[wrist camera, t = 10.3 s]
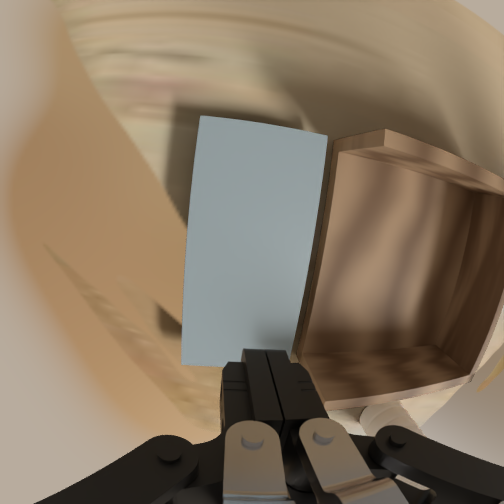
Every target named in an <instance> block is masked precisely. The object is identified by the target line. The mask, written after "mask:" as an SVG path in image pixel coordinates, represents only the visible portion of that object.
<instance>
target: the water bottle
mask: <svg viewBox="0 0 504 504" xmlns="http://www.w3.org/2000/svg"><path fill="white" fill-rule="evenodd" d="M360 424H361V426H362V428H363V430H364V431H365V433H366V434H367V436H374V437H375V435H376V433H377V432H378V431H379V429H381V428H382V427H385V426H388V425H397V426H402V427H404V428H407V429H409V430H411V431H413V432H415V433H418V434H420V435H422V436H424V437H426V436H425V435H424V434H423V432H422V430H421V429H419V428H418V425H417V424H416V422H415V421H414V420H413V419H412V418H411V416H410V414H409V413H408V412H407V410H406V409H405V408H404V406H403V405H402V403H401V402H400V401H399V400H397V401H392V402H387V403H381V404H375V405H369V406H367V407H366V408H365V409H364V410H363V412H362V415H361V416H360ZM396 479H398V480H401V481H403V482H405V483H407V484H409V485H412V486H414V487H416V488H418V489H421V490H427V489H430V488H427V487H425V486H423V485H420V484H418V483H416V482H413V481H411V480H409V479H407V478H405V477H402V476H400V475H397V476H396Z"/></svg>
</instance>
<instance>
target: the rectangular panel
mask: <svg viewBox="0 0 504 504" xmlns="http://www.w3.org/2000/svg"><path fill="white" fill-rule="evenodd" d="M327 139H328V136H327V135H322V134H318V133H313V132H308V131H303V130H298V129H293V128H288V127H282V126H277V125H271V124H265V123H258V122H252V121H245V120H237V119H229V118H221V117H211V116H201V115H200V122H199V129H198V136H197V143H196V151H195V159H194V168H193V176H192V186H191V195H190V205H189V216H188V228H187V242H186V255H185V270H184V289H183V314H182V358H181V364H182V365H196V366H217V367H225V365H226V364H227V362H228V361H230V362H241V356H242V350H243V348H246V349H264V350H265V349H276V350H286V352H287V355H288V357H289V360H290V355H291V351H292V346H293V342H294V337H295V333H296V328H297V323H298V318H299V314H300V309H301V304H302V299H303V294H304V289H305V283H306V278H307V273H308V267H309V262H310V256H311V250H312V244H313V238H314V232H315V226H316V220H317V213H318V207H319V200H320V193H321V186H322V179H323V171H324V164H325V156H326V148H327Z"/></svg>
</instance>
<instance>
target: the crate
mask: <svg viewBox="0 0 504 504" xmlns="http://www.w3.org/2000/svg"><path fill="white" fill-rule="evenodd" d="M503 305H504V179H503V178H501V177H499V176H498V175H496V174H494V173H492V172H490V171H488V170H486V169H484V168H482V167H480V166H478V165H476V164H474V163H472V162H469V161H467V160H465V159H463V158H461V157H458V156H456V155H454V154H452V153H449V152H447V151H445V150H442V149H440V148H437V147H435V146H432V145H430V144H427V143H425V142H422V141H419V140H417V139H414V138H411V137H409V136H406V135H403V134H400V133H397V132H394V131H391V130H388V129H381V130H376V131H372V132H367V133H362V134H358V135H354V136H349V137H345V138H341V139H337V140H334V144H333V152H332V161H331V168H330V176H329V183H328V190H327V197H326V204H325V210H324V217H323V223H322V229H321V235H320V241H319V247H318V253H317V258H316V264H315V269H314V274H313V279H312V285H311V290H310V295H309V300H308V304H307V309H306V314H305V319H304V323H303V328H302V332H301V337H300V341H299V345H298V350H297V354H296V355H297V357H298V360H299V362H300V364H301V365H302V366H303V367H304V368H305V369H306V370H307V371H308V372H309V374H310V376H311V379H312V383H314V385H315V388H316V391H317V392H318V394H319V396H320V399H321V401H322V403H323V405H324V408H325V410H326V411H330V410H340V409H348V408H356V407H363V406H369V405H375V404H381V403H387V402H392V401H397V400H402V399H407V398H412V397H416V396H421V395H425V394H429V393H433V392H437V391H441V390H444V389H448V388H451V387H455V386H458V385H461V384H465V383H468V382H471V380H472V378H473V376H474V374H475V372H476V370H477V368H478V366H479V364H480V362H481V360H482V358H483V356H484V353H485V351H486V349H487V347H488V344H489V342H490V340H491V337H492V335H493V332H494V330H495V327H496V324H497V322H498V319H499V316H500V314H501V311H502V308H503Z"/></svg>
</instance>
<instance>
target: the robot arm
mask: <svg viewBox="0 0 504 504" xmlns="http://www.w3.org/2000/svg"><path fill="white" fill-rule="evenodd" d="M220 420H221V422H220V423H221V434H220V435H219V436H218V437H217V438H215V439H213V440H211V441H208V442H205V443H200V444H194V445H192V444H191V443H190V442H189V441H187V440H186V439H184V438H181V437H178V436H174V435H160V436H156V437H153V438H151V439H149V440H148V441H146V442H145V443H143V444H142V445H140V446H139V447H137V448H135V449H134V450H132V451H131V452H129V453H127V454H126V455H124V456H122V457H121V458H119V459H118V460H116V461H114V462H113V463H111V464H109V465H108V466H106V467H104V468H102V469H101V470H99V471H97V472H96V473H94V474H92V475H90V476H88V477H86V478H84V479H83V480H81V481H79V482H77V483H75V484H73V485H71V486H69V487H68V488H66V489H64V490H62V491H60V492H58V493H56V494H54V495H52V496H49V497H47V498H45V499H43V500H41V501H39V502H37V503H34V504H504V467H502V466H499V465H496V464H493V463H490V462H487V461H485V460H481V459H479V458H476V457H474V456H471V455H468V454H466V453H463V452H461V451H458V450H455V449H453V448H451V447H448V446H445V445H443V444H441V443H438V442H436V441H434V440H431V439H429V438H427V437H424V436H422V435H420V434H418V433H415V432H413V431H411V430H409V429H407V428H404V427H402V426H397V425H388V426H385V427H382V428H381V429H379V431H378V432H377V433H376V435H375V437H374V436H361V435H353V434H348V433H347V431H346V429H345V428H344V427H343V426H342V425H341V424H339V423H338V422H336V421H334V420H331V419H329V417H328V414H327V412H326V410H325V408H324V405H323V403H322V401H321V399H320V396H319V394H318V392H317V391H316V388H315V385H314V383H312V379H311V376H310V374H309V372H308V371H307V370H306V369H305V368H304V367H303V366H302V365H301V364H299V363H290V360H289V357H288V355H287V352H286V350H276V349H265V350H264V349H246V348H243V350H242V356H241V362H230V361H228V362H227V364H226V365H225V367H224V368H223V370H222V381H221V392H220ZM397 475H400V476H402V477H405V478H407V479H409V480H411V481H413V482H416V483H418V484H420V485H423V486H425V487H427V488H430V489H427V490H421V489H418V488H416V487H414V486H412V485H409V484H407V483H405V482H403V481H401V480H398V479H396V476H397Z"/></svg>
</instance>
